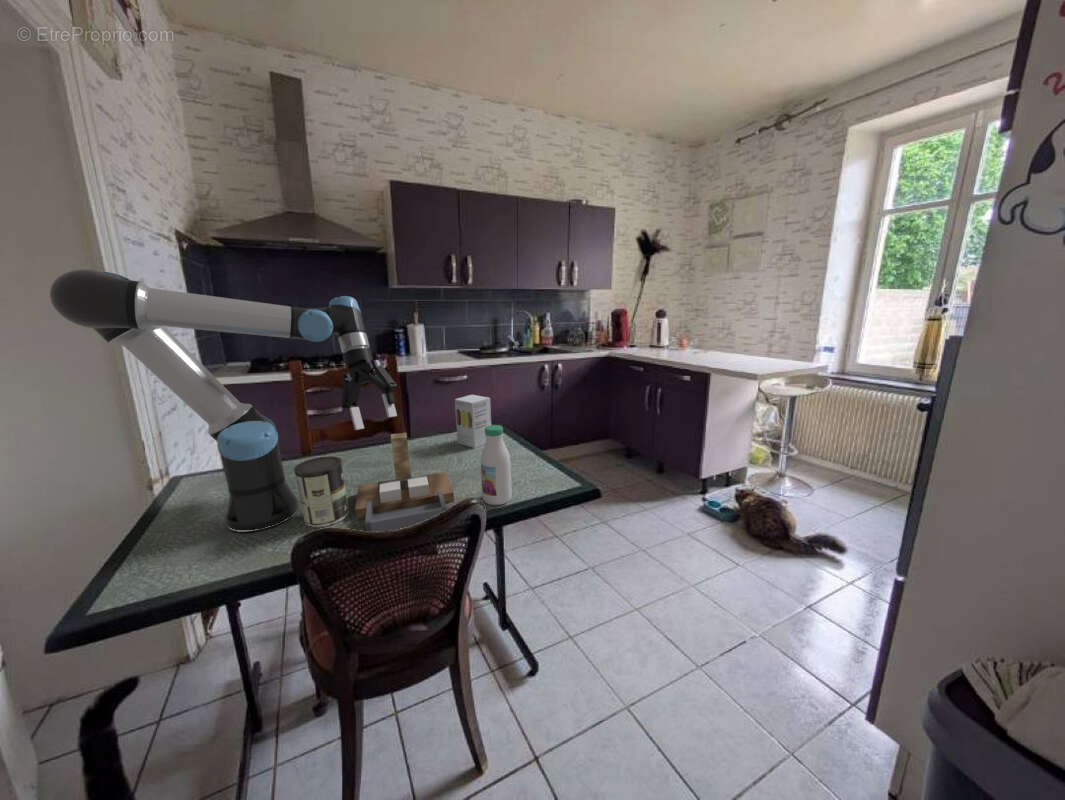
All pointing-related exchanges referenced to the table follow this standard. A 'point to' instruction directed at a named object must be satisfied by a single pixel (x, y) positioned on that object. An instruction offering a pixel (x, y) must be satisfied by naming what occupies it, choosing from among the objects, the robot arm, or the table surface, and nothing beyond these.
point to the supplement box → (472, 419)
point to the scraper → (401, 461)
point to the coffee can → (322, 491)
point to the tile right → (418, 487)
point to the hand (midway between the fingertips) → (375, 423)
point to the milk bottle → (495, 468)
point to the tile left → (390, 492)
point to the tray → (402, 515)
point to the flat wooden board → (402, 496)
